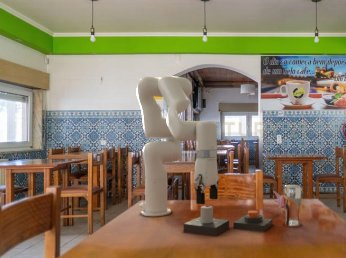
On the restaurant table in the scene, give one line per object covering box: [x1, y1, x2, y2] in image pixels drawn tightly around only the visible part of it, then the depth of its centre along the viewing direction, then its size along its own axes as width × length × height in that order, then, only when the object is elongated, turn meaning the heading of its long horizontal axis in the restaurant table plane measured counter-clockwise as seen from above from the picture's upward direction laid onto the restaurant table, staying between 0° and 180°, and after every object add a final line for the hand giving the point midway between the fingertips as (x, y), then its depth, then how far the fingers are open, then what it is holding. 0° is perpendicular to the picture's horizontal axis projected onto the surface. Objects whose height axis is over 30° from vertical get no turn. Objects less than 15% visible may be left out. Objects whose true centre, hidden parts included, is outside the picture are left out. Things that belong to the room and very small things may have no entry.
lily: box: [273, 190, 285, 216], centre depth 153 cm, size 12×12×10 cm
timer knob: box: [200, 204, 214, 223], centre depth 130 cm, size 4×4×6 cm
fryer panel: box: [183, 216, 230, 237], centre depth 130 cm, size 13×11×3 cm
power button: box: [247, 210, 260, 218], centre depth 134 cm, size 4×4×2 cm
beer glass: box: [282, 184, 302, 228], centre depth 136 cm, size 7×7×15 cm
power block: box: [233, 213, 273, 233], centre depth 134 cm, size 12×10×4 cm
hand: (207, 201), depth 129 cm, fingers open, 9 cm apart
